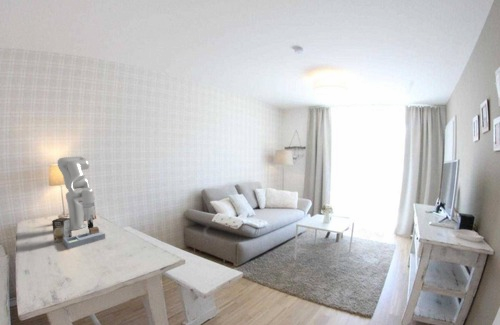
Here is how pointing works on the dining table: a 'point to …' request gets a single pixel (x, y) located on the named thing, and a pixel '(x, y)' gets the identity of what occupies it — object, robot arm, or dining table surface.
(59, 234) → the coffee box
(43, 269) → the dining table surface
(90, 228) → the block
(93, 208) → the white glue bottle
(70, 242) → the tray
